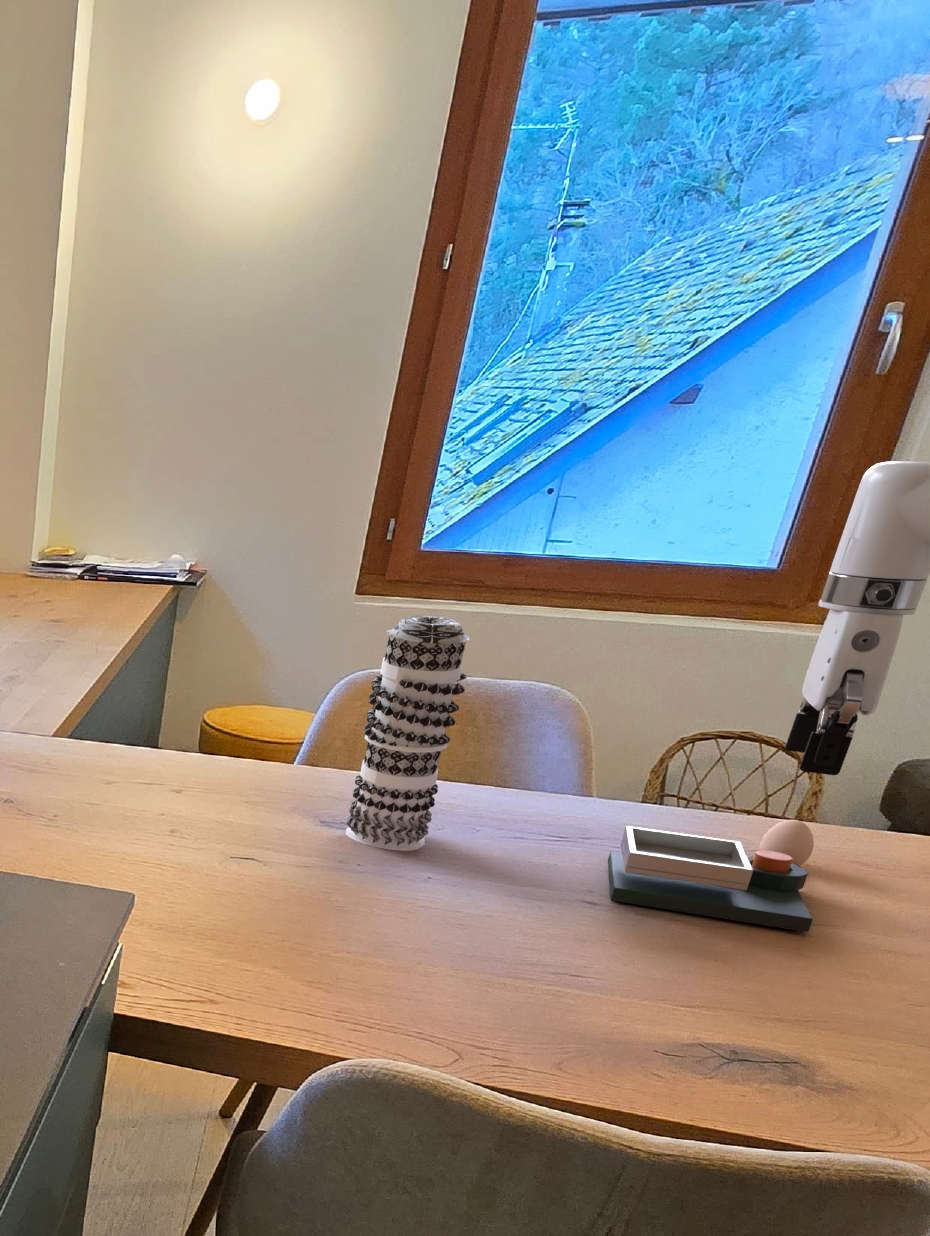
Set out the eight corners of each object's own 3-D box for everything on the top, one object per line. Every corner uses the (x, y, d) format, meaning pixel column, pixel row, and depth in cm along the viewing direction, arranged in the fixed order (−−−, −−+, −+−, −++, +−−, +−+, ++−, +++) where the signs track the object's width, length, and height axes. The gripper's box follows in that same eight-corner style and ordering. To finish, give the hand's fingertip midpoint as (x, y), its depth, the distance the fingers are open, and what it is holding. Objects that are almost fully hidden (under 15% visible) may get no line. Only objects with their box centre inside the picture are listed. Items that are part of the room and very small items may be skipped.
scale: (792, 890, 124) (802, 862, 123) (814, 933, 113) (825, 904, 112) (606, 862, 131) (614, 836, 130) (610, 900, 121) (618, 872, 120)
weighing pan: (734, 860, 123) (741, 841, 122) (746, 890, 115) (753, 870, 114) (620, 844, 128) (625, 825, 127) (624, 872, 120) (630, 852, 119)
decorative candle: (446, 843, 136) (499, 622, 125) (394, 860, 132) (443, 633, 121) (376, 819, 143) (420, 608, 132) (324, 834, 139) (365, 617, 128)
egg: (782, 879, 127) (801, 830, 125) (742, 864, 131) (759, 815, 128) (813, 874, 128) (832, 825, 126) (772, 859, 132) (790, 811, 130)
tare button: (785, 867, 122) (790, 853, 122) (790, 876, 120) (795, 862, 119) (749, 862, 124) (754, 848, 123) (753, 871, 121) (758, 856, 121)
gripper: (941, 608, 110) (872, 787, 117) (899, 588, 124) (840, 749, 130) (838, 601, 113) (777, 775, 120) (809, 582, 127) (755, 739, 134)
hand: (810, 761), depth 125 cm, fingers open, 9 cm apart
